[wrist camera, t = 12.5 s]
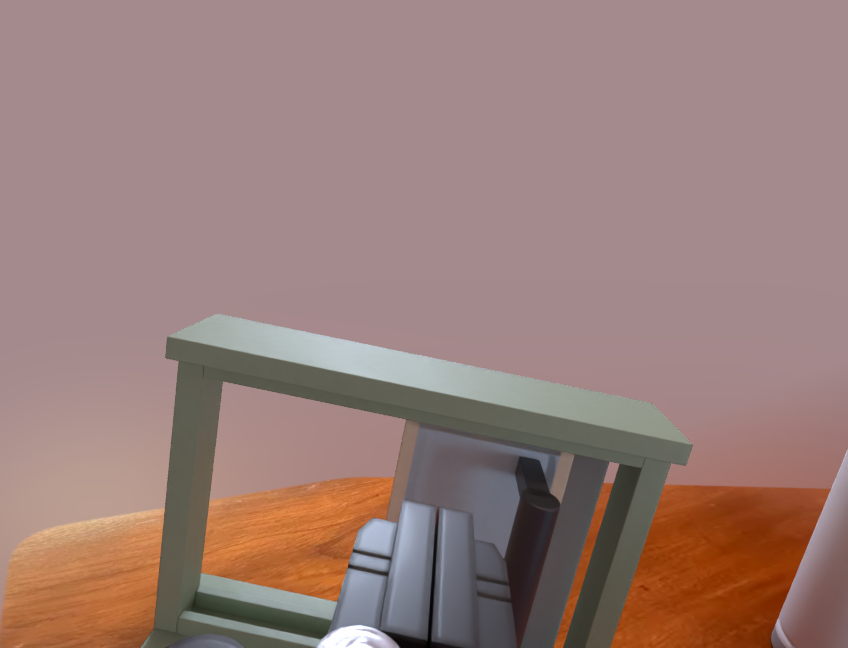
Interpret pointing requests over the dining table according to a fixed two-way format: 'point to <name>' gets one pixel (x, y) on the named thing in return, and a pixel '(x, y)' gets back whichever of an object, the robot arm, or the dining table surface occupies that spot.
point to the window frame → (423, 402)
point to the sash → (488, 496)
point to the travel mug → (820, 581)
